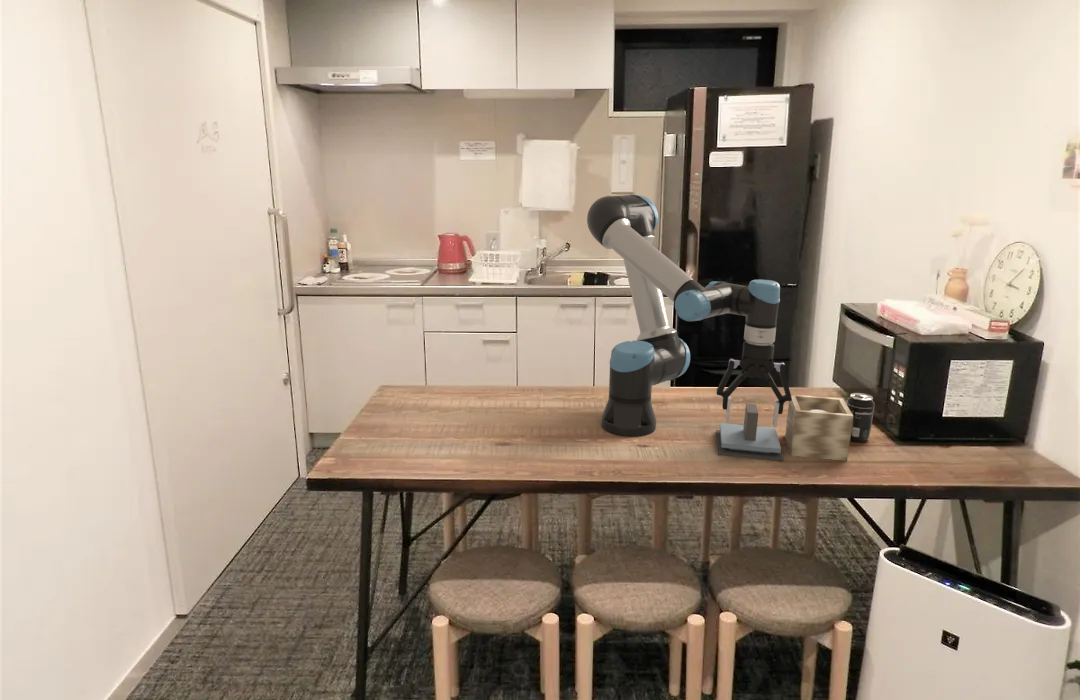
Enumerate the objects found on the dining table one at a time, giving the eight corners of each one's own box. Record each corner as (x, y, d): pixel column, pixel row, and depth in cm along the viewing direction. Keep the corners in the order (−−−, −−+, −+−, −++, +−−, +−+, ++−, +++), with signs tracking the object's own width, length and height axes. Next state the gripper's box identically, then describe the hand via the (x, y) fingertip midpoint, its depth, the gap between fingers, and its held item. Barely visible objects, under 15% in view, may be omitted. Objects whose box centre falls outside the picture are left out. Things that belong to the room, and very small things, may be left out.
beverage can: (845, 431, 198) (851, 390, 195) (871, 437, 195) (878, 395, 191) (839, 438, 193) (845, 397, 190) (866, 445, 189) (872, 402, 186)
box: (791, 455, 182) (796, 411, 179) (785, 435, 194) (789, 394, 191) (846, 460, 179) (853, 416, 176) (837, 440, 192) (842, 398, 189)
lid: (721, 451, 182) (724, 415, 179) (719, 431, 195) (722, 397, 193) (780, 457, 179) (784, 420, 176) (774, 436, 192) (778, 401, 190)
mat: (717, 454, 181) (718, 452, 181) (716, 431, 196) (716, 429, 196) (783, 461, 178) (783, 459, 178) (776, 437, 193) (777, 435, 193)
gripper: (711, 342, 178) (704, 424, 184) (810, 349, 174) (800, 432, 180) (710, 335, 186) (704, 414, 191) (806, 341, 181) (796, 422, 187)
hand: (750, 423), depth 186 cm, fingers open, 11 cm apart
